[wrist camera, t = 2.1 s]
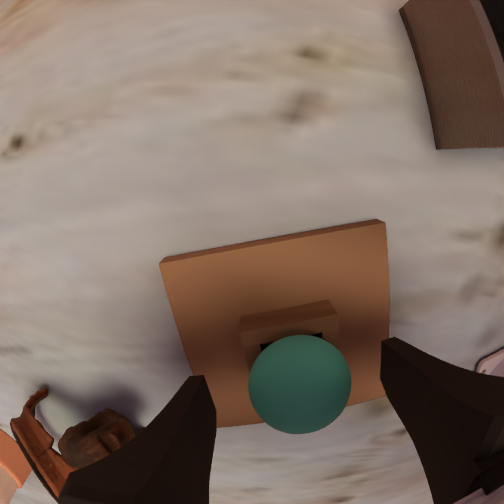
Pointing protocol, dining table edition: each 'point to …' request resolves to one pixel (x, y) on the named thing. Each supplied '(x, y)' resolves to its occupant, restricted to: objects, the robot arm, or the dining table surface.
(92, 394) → the dining table surface
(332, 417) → the ball
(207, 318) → the stand
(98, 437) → the pottery mug
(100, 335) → the dining table surface
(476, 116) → the open box
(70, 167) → the dining table surface
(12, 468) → the salt shaker
